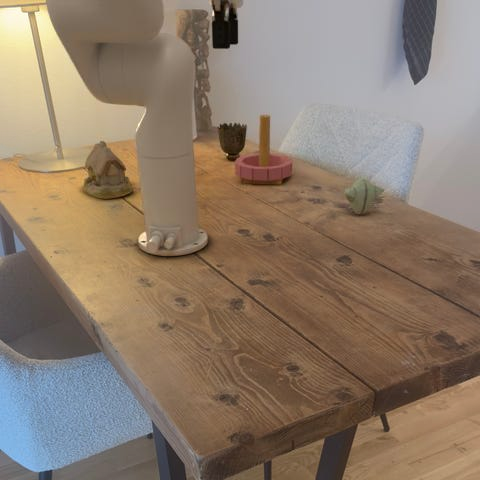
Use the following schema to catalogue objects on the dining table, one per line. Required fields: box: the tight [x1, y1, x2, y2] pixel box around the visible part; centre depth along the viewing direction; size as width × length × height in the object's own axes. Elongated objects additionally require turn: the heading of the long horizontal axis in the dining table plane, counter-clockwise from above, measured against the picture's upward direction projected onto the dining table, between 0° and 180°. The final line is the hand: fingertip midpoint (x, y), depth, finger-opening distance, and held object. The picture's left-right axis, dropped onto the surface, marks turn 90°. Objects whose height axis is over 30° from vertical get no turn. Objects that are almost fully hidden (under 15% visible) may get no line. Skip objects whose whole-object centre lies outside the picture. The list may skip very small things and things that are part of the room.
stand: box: [242, 114, 284, 185], centre depth 129 cm, size 9×9×13 cm
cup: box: [216, 122, 248, 162], centre depth 145 cm, size 8×7×8 cm
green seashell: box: [344, 177, 385, 216], centre depth 111 cm, size 8×4×7 cm, turn 103°
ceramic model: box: [82, 140, 134, 200], centre depth 125 cm, size 14×11×10 cm
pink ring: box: [234, 152, 294, 181], centre depth 132 cm, size 13×13×3 cm
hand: (225, 46), depth 107 cm, fingers open, 9 cm apart
